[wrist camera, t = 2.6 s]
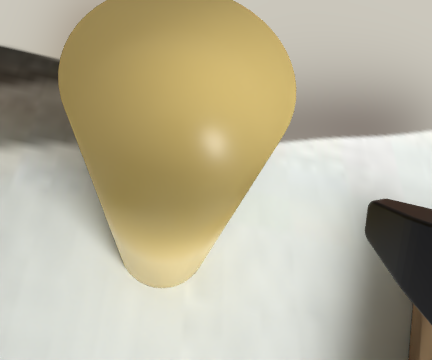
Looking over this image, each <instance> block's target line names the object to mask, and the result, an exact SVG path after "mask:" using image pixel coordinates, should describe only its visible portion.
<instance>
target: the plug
mask: <svg viewBox="0 0 432 360" xmlns="http://www.w3.org/2000/svg"><path fill="white" fill-rule="evenodd" d="M58 83H59V90H60V96H61V100H62V103H63V106H64V108H65V111H66V114H67V116H68V119H69V122H70V124H71V127H72V130H73V132H74V135H75V137H76V140H77V143H78V145H79V148H80V150H81V153H82V156H83V158H84V161H85V164H86V166H87V169H88V171H89V174H90V177H91V179H92V182H93V185H94V187H95V190H96V192H97V195H98V198H99V200H100V203H101V206H102V208H103V211H104V213H105V216H106V219H107V221H108V224H109V226H110V229H111V232H112V234H113V237H114V240H115V242H116V245H117V247H118V250H119V253H120V255H121V258H122V261H123V263H124V265H125V267H126V269H127V270H128V272H129V273H130V274H131V275H132V276H133V277H134V278H135V279H136V280H138V281H139V282H141V283H143V284H145V285H147V286H151V287H155V288H169V287H174V286H177V285H179V284H182V283H183V282H185V281H187V280H188V279H189V278H191V277H192V276H193V275H194V274H195V273H196V271H197V270H198V269H199V267H200V266H201V264H202V262H203V261H204V259H205V258H206V256H207V255H208V253H209V251H210V250H211V248H212V247H213V245H214V244H215V242H216V240H217V239H218V237H219V236H220V234H221V233H222V231H223V229H224V228H225V226H226V225H227V223H228V222H229V220H230V218H231V217H232V215H233V214H234V212H235V211H236V209H237V207H238V206H239V204H240V203H241V201H242V200H243V198H244V196H245V195H246V193H247V192H248V190H249V189H250V187H251V185H252V184H253V182H254V181H255V179H256V178H257V176H258V174H259V173H260V171H261V170H262V168H263V167H264V165H265V164H266V162H267V160H268V159H269V157H270V156H271V154H272V153H273V151H274V149H275V148H276V146H277V145H278V143H279V142H280V140H281V138H282V137H283V135H284V133H285V131H286V130H287V128H288V126H289V124H290V121H291V118H292V115H293V112H294V107H295V101H296V82H295V75H294V71H293V67H292V64H291V61H290V59H289V56H288V54H287V52H286V50H285V48H284V47H283V45H282V43H281V42H280V40H279V39H278V37H277V36H276V35H275V33H274V32H273V31H272V30H271V29H270V28H269V27H268V26H267V25H266V23H265V22H263V20H261V19H260V18H259V17H258V16H256V15H255V14H254V13H253V12H251V11H250V10H248V9H247V8H245V7H244V6H242V5H241V4H239V3H237V2H235V1H233V0H106V1H105V2H103V3H101V4H100V5H98V6H97V7H95V8H94V9H93V10H92V11H90V12H89V13H88V14H87V15H86V16H85V17H84V18H83V19H82V20H81V21H80V22H79V23H78V24H77V25H76V27H75V28H74V30H73V31H72V32H71V34H70V36H69V38H68V39H67V41H66V43H65V45H64V48H63V51H62V54H61V57H60V63H59V70H58Z"/></svg>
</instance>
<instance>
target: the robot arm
mask: <svg viewBox="0 0 432 360" xmlns="http://www.w3.org/2000/svg"><path fill="white" fill-rule="evenodd" d="M365 234H366V237H367V239H368V241H369V243H370V244H371V246H372V247H373V248H374V250H375V251H376V253H377V254H378V256H379V257H380V259H381V260H382V262H383V263H384V265H385V266H386V268H387V269H388V271H389V272H390V273H391V275H392V276H393V278H394V279H395V281H396V282H397V284H398V285H399V286H400V288H401V289H402V290H403V291H404V293H405V294H406V295H407V296H408V298H409V299H410V300H411V301H412V302H413V304H414V305H415V306H416V307H417V308H418V310H419V311H420V312H421V313H422V314H423V316H424V317H425V318H426V319H427V320H428V322H429V323H430V324H431V325H432V209H429V208H424V207H420V206H416V205H412V204H407V203H403V202H399V201H395V200H390V199H380V200H375V201H372V202H370V203H369V205H368V210H367V218H366V226H365Z"/></svg>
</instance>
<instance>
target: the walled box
mask: <svg viewBox="0 0 432 360" xmlns="http://www.w3.org/2000/svg"><path fill="white" fill-rule="evenodd" d="M408 360H432V325H431V324H430V323H429V322H428V320H427V319H426V318H425V317H424V316H423V314H422V313H421V312H420V311H419V310H418V308H417V307H416V306H415V305H414V304H413V312H412V324H411V336H410V347H409V359H408Z"/></svg>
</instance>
